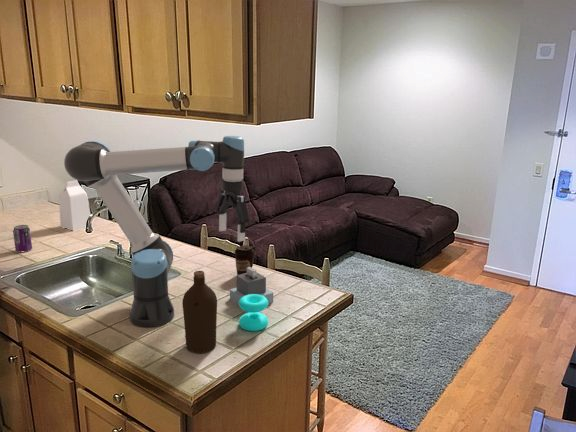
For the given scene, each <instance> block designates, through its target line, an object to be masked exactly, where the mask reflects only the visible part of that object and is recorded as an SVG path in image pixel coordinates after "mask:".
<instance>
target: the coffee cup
mask: <svg viewBox="0 0 576 432" xmlns="http://www.w3.org/2000/svg"><path fill="white" fill-rule="evenodd" d="M235 248H236V249H235V250H234V257H235V269H236V276H237V275H240V274H244V273H247V268H248V267H251V268H253V266H254V256H255V249H254V247H253V246H252V245H238V246H236V247H235Z"/></svg>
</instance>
